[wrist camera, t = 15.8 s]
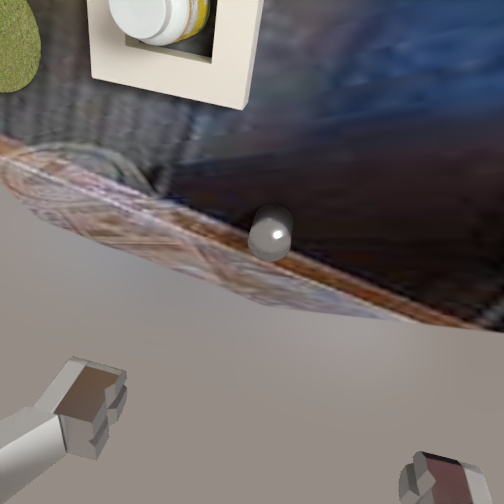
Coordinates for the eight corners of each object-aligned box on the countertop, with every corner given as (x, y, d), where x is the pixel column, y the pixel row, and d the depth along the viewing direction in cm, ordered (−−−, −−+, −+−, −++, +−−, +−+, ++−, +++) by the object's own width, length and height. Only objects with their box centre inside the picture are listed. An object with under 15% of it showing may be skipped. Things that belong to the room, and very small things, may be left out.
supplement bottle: (219, -18, 32) (186, -23, 24) (200, 48, 35) (165, 64, 27) (159, -48, 32) (104, -63, 24) (144, 22, 35) (92, 30, 27)
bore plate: (277, -89, 29) (273, -96, 27) (247, 102, 37) (242, 110, 35) (98, -124, 29) (78, -135, 27) (107, 72, 37) (91, 77, 35)
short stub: (297, 207, 42) (294, 230, 38) (288, 240, 45) (285, 265, 41) (258, 198, 42) (251, 220, 38) (251, 232, 45) (244, 256, 41)
